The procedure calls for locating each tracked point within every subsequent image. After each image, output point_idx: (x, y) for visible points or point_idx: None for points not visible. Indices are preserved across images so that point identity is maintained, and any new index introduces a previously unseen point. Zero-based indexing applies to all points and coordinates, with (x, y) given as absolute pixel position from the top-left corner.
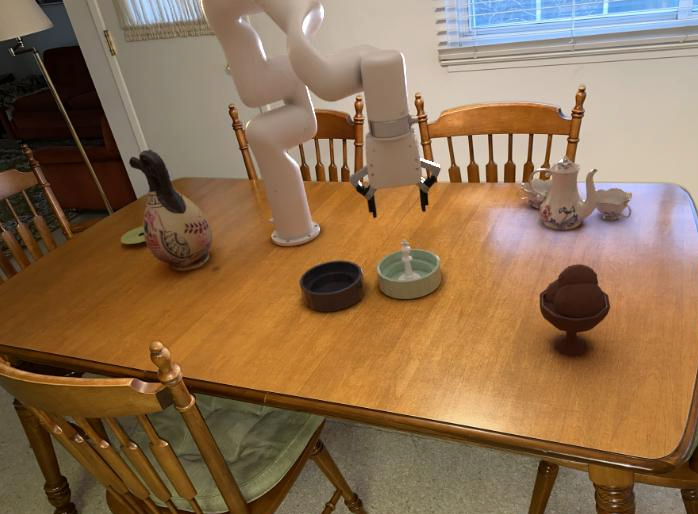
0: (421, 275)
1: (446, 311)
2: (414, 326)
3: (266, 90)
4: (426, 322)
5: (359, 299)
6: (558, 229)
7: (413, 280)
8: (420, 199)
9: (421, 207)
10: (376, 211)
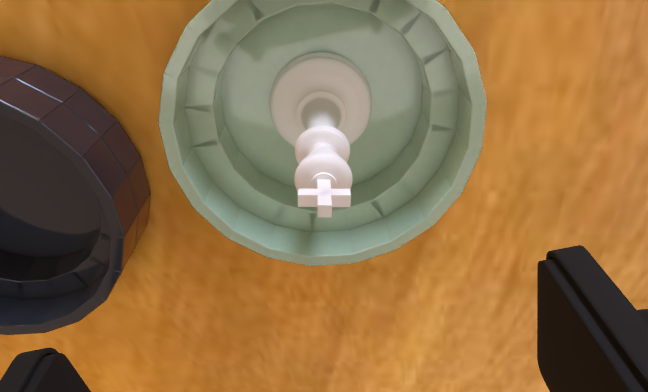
0: (368, 55)
1: (466, 269)
2: (368, 330)
3: None
4: (403, 314)
5: (146, 225)
6: None
7: (366, 258)
8: (581, 359)
9: (546, 347)
10: (69, 369)
